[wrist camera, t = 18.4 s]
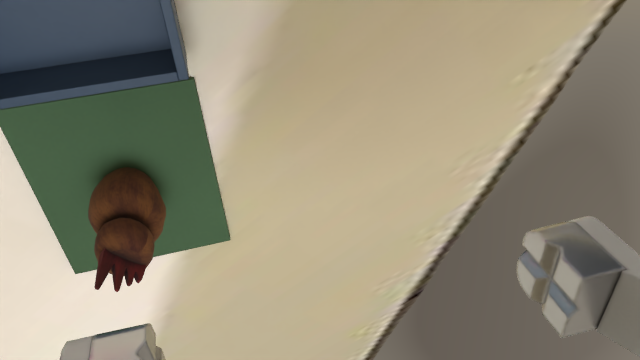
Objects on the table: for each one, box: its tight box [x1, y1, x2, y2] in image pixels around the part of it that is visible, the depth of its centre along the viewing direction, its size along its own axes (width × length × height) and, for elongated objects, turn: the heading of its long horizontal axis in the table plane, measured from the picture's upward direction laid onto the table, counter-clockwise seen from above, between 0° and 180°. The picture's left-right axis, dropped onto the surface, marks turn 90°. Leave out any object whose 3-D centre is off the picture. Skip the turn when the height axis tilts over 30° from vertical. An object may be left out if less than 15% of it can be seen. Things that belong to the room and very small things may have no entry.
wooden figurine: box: [88, 167, 166, 292], centre depth 43 cm, size 7×6×15 cm
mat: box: [0, 77, 230, 274], centre depth 49 cm, size 17×20×1 cm
